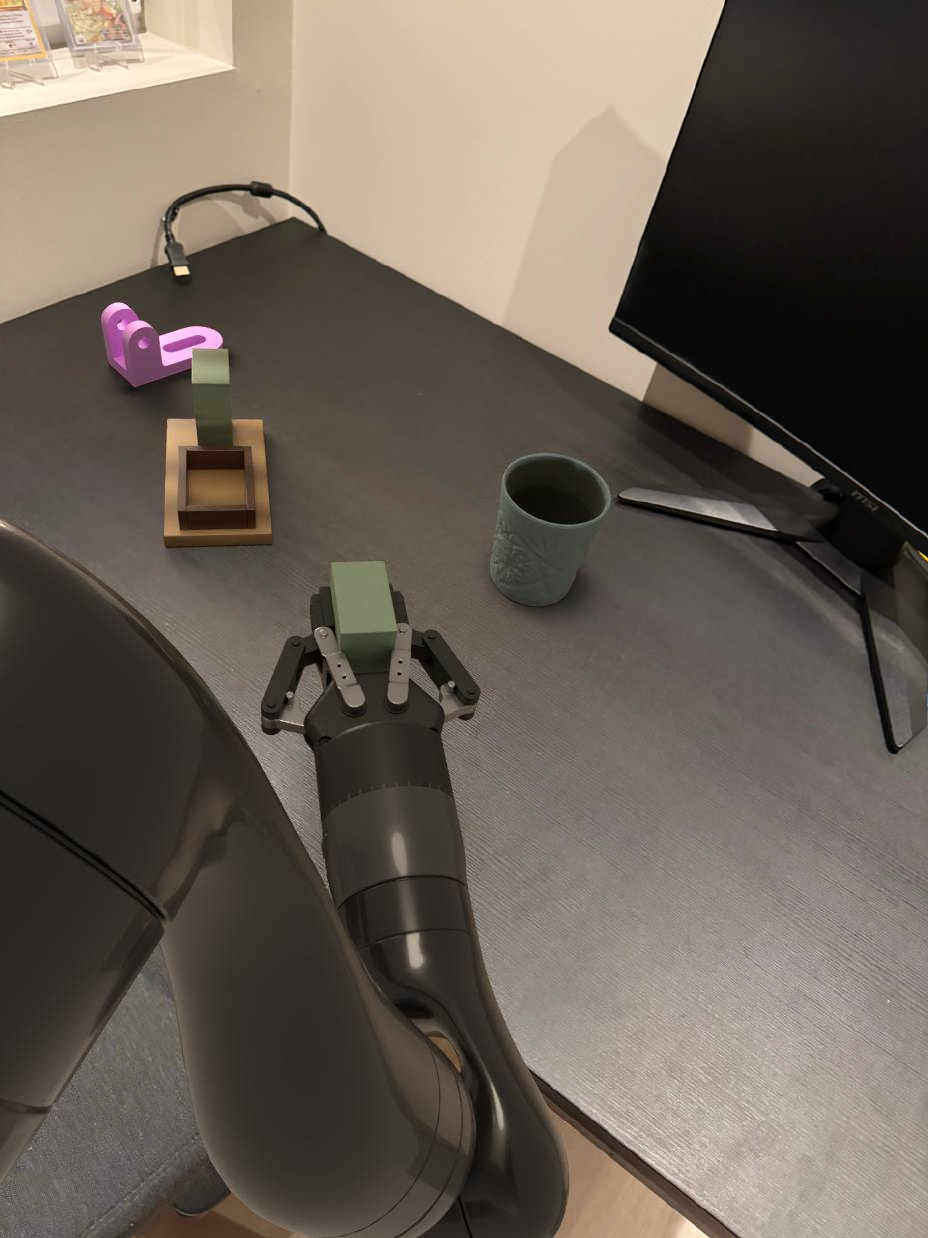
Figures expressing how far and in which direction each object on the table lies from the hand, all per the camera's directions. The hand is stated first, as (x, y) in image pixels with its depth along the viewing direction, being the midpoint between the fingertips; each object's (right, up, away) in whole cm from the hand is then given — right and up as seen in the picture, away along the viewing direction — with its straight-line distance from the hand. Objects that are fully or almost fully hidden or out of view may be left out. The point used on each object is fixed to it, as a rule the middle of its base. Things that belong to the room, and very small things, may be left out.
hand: (354, 593), depth 57 cm
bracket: (-27, +29, +43) cm, 59 cm away
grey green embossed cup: (+14, +2, +29) cm, 32 cm away
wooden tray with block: (-18, +12, +30) cm, 37 cm away
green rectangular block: (0, -6, +3) cm, 7 cm away
